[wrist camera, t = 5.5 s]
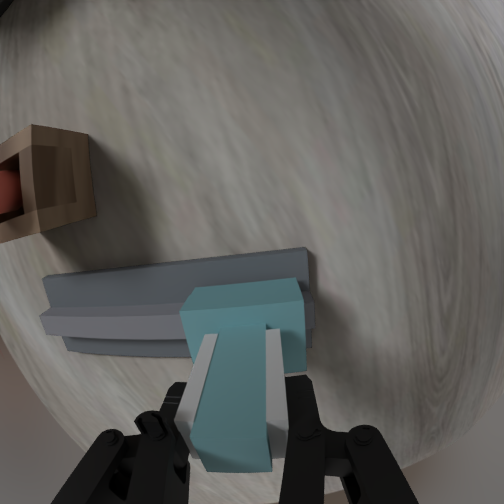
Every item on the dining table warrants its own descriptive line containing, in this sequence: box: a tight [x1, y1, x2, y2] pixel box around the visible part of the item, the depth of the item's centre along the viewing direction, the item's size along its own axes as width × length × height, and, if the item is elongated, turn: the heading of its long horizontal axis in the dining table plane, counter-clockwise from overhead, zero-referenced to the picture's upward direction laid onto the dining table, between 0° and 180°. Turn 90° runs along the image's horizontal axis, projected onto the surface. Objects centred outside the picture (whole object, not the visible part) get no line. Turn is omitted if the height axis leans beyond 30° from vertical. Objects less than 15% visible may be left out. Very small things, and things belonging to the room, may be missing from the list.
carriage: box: [179, 277, 307, 473], centre depth 14 cm, size 7×5×12 cm
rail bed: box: [39, 247, 315, 357], centre depth 20 cm, size 24×8×3 cm, turn 97°
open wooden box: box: [0, 124, 97, 244], centre depth 16 cm, size 8×7×7 cm
